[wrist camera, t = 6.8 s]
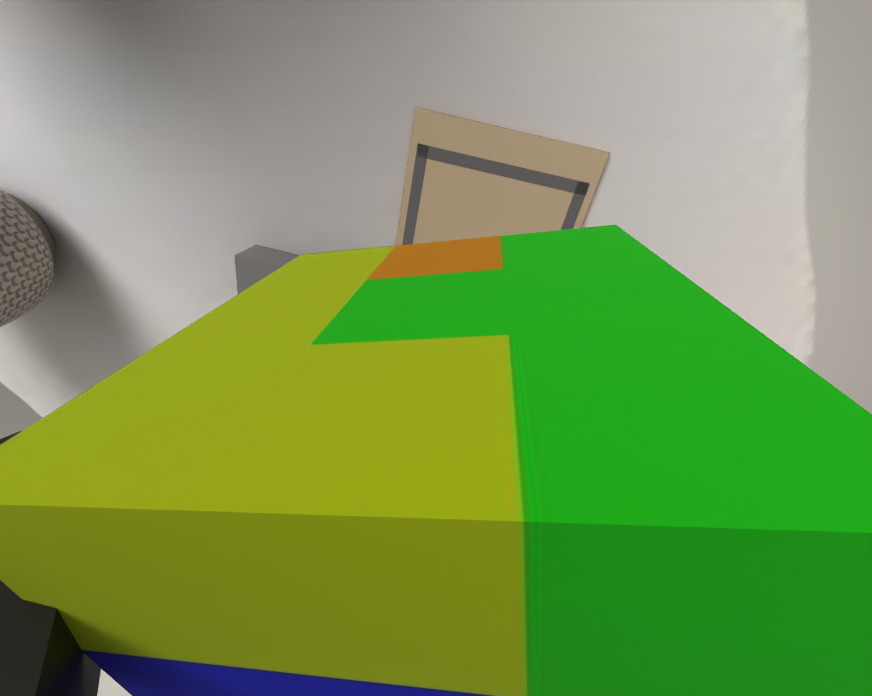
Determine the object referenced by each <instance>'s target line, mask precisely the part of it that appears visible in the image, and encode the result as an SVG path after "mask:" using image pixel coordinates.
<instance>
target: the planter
mask: <svg viewBox="0 0 872 696" xmlns="http://www.w3.org/2000/svg"><path fill="white" fill-rule="evenodd" d="M55 254H56V250H55V244H54V241H53V238H52V236H51V233H50V231H49V230H48V228H47V226H46V225H45V223H44V222H43V221H42V219H41V218H40V217H39V216H38V215H37V214H36V213H35V212H34V211H33V210H32V209H31V208H30V207H29V206H28V205H26V204H25V203H24V202H22V201H21V200H19V199H18V198H16V197H14V196H12V195H10V194H8V193H6V192H4V191H3V190H2V189H0V327H2V326H4V325H6V324H8V323H10V322H12V321H14V320H15V319H17V318H19V317H21V316H22V315H24V314H25V313H27V312H29V311H30V310H32V309H33V308H34V307H35V306H37V305H38V304H39V303H40V302H41V301H42V300H43V299H44V298H45V297H46V295H47V294H48V292H49V290H50V288H51V285H52V281H53V274H54V265H53V263H54V260H55Z"/></svg>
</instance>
